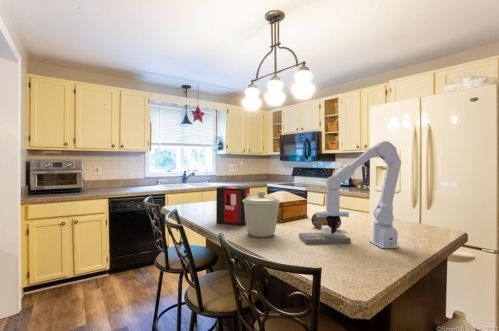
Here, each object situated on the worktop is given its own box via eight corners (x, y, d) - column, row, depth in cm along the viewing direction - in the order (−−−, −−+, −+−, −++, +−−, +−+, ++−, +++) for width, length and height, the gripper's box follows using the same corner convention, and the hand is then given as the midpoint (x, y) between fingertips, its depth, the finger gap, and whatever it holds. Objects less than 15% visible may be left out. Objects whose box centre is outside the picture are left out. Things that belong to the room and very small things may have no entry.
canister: (277, 241, 117) (278, 194, 117) (238, 238, 121) (238, 192, 120) (281, 230, 135) (281, 189, 135) (246, 228, 139) (246, 188, 138)
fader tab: (331, 236, 119) (331, 227, 119) (324, 236, 118) (324, 228, 118) (327, 233, 123) (327, 225, 122) (321, 233, 122) (321, 225, 122)
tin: (311, 227, 142) (311, 211, 142) (312, 226, 145) (312, 210, 145) (340, 231, 135) (340, 214, 135) (341, 229, 138) (341, 213, 138)
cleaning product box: (249, 222, 152) (249, 187, 152) (244, 226, 144) (244, 189, 143) (222, 220, 157) (222, 186, 157) (216, 223, 149) (216, 187, 148)
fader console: (350, 242, 117) (350, 237, 117) (306, 244, 114) (306, 238, 114) (340, 236, 127) (340, 230, 126) (299, 237, 124) (299, 231, 124)
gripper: (344, 201, 125) (343, 229, 126) (314, 201, 124) (313, 230, 124) (351, 203, 118) (350, 234, 119) (319, 204, 117) (319, 234, 117)
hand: (332, 232), depth 121 cm, fingers closed
